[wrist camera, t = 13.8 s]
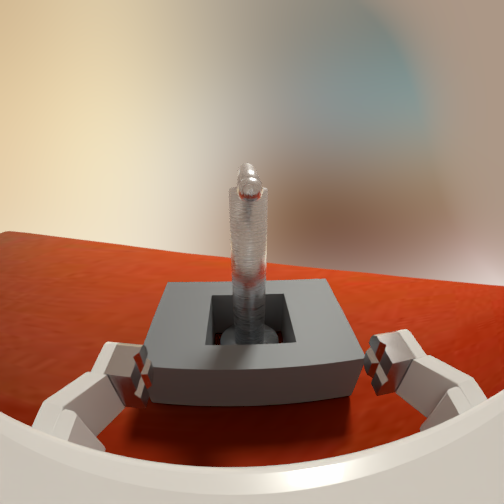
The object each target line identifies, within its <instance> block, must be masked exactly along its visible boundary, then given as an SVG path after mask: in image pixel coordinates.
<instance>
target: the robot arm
mask: <svg viewBox="0 0 504 504" xmlns="http://www.w3.org/2000/svg"><path fill="white" fill-rule="evenodd" d="M369 344H370V346H371V347H370V348H369V349H368V350H367V351H366V353H365V357H364V367H365V371H366V373H367V375H369V376H370V377H372V378H373V379H372V382H371V384H372V386H373V388H374V391H375V393H376V395H377V396H379V395H384V394H388V393H392V392H396V393H397V394H398V395H399V396H400V397H402V398H403V399H404V400H405V401H407V402H408V403H409V404H410V405H412V406H413V407H414V408H415V409H417V410H418V411H419V412H421V413H422V414H423V415H424V416H426V417H427V419H426V420H425V421H424V423H423V424H422V425H421V427H420V431H421V432H419V433H416V434H414V435H411V436H408V437H405V438H403V439H400V440H397V441H394V442H390V443H387V444H384V445H381V446H377V447H374V448H370V449H367V450H363V451H359V452H355V453H350V454H346V455H341V456H337V457H332V458H326V459H321V460H315V461H308V462H301V463H293V464H284V465H273V466H258V467H203V466H188V465H177V464H168V463H160V462H153V461H146V460H140V459H135V458H130V457H125V456H120V455H116V454H111V453H107V452H105V447H104V445H103V444H102V443H101V442H100V441H99V440H98V439H97V438H96V436H97V435H98V434H99V433H100V432H101V431H102V430H103V429H104V428H105V427H106V426H107V425H108V424H109V423H110V422H111V421H112V420H113V419H114V418H115V417H116V416H117V415H118V414H119V413H120V412H121V411H122V410H123V409H124V408H125V407H134V408H143V409H146V407H147V403H148V399H149V392H148V390H147V389H148V388H149V387H151V386H152V383H153V376H154V371H153V365H152V362H151V361H150V360H149V359H148V358H147V355H148V351H147V348H146V346H144V345H137V344H127V343H115V342H106V343H105V344H104V346H103V348H102V350H101V352H100V354H99V356H98V358H97V360H96V362H95V364H94V366H93V368H92V370H91V372H86V373H85V374H83V375H82V376H80V377H79V378H77V379H76V380H74V381H73V382H72V383H70V384H69V385H67V386H66V387H64V388H63V389H61V390H60V391H58V392H57V393H55V394H54V395H52V396H51V397H49V398H48V399H46V400H45V401H44V402H43V404H42V406H41V408H40V410H39V412H38V414H37V416H36V419H35V421H34V423H33V425H32V427H30V426H28V425H26V424H24V423H22V422H20V421H17V420H15V419H13V418H11V417H9V416H7V415H5V414H4V413H2V412H0V504H504V390H502V391H500V392H499V393H497V394H496V395H494V396H492V397H491V398H489V399H487V398H486V396H485V395H484V393H483V392H482V390H481V389H480V387H479V386H478V384H477V383H476V381H475V380H474V378H472V377H470V376H468V375H467V374H465V373H463V372H461V371H459V370H457V369H455V368H453V367H451V366H449V365H448V364H446V363H444V362H442V361H440V360H438V359H436V358H434V357H432V356H431V355H428V356H427V355H426V354H425V352H424V351H423V350H422V348H421V347H420V345H419V344H418V342H417V341H416V339H415V338H414V337H413V335H412V334H411V332H410V331H409V330H407V329H404V330H399V331H395V332H388V333H383V334H377V335H373V336H372V337H371V338H370V341H369ZM124 406H125V407H124Z"/></svg>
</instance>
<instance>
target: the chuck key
mask: <svg viewBox="0 0 504 504" xmlns="http://www.w3.org/2000/svg"><path fill="white" fill-rule="evenodd" d="M267 194H268V190H267V189H266V188H264V187H263V186H262V183H261V181H260V179H259V176H258V174H257V172H256V170H255V168H254V166H253V165H251V164H248V163H246V164H243V165H241V166H240V167H239V169H238V186H237V187H234V188H231V189H230V190H229V206H230V240H231V267H232V291H233V313H234V325H232V326H231V327H229V328H227V329H226V330H225V331H224V332H223V334H222V336H221V340H220V343H221V345H255V344H278V342H279V340H278V336H277V334H276V332H275V331H274V330H273V329H272V328H270V327H269V326H267V325H265V293H266V253H267V199H268V195H267Z"/></svg>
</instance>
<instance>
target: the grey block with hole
mask: <svg viewBox="0 0 504 504" xmlns="http://www.w3.org/2000/svg"><path fill="white" fill-rule="evenodd" d="M232 325H234V313H233V291H232V282H168V283H167V286H166V288H165V290H164V293H163V295H162V298H161V300H160V303H159V305H158V308H157V310H156V313H155V315H154V318H153V321H152V323H151V326H150V329H149V331H148V334H147V337H146V339H145V342H144V346H146V348H147V351H148V355H147V358H148V359H149V360H150V361H151V362H152V365H153V371H154V376H153V383H152V386H151V387H149V388H148V389H147V390H148V392H149V397H150V399H151V401H152V402H154V403H164V404H177V405H193V406H260V405H277V404H289V403H300V402H309V401H317V400H324V399H331V398H338V397H344V396H350V395H351V394H352V392H353V389H354V387H355V385H356V382H357V380H358V377H359V375H360V372H361V370H362V367H363V365H364V357H365V355H364V353H363V351H362V349H361V347H360V345H359V343H358V341H357V339H356V336H355V334H354V332H353V330H352V329H351V327H350V325H349V323H348V321H347V319H346V317H345V315H344V313H343V311H342V309H341V307H340V305H339V303H338V301H337V299H336V297H335V296H334V294H333V292H332V290H331V288H330V286H329V284H328V282H327V281H326V279H305V280H277V281H266V293H265V325H267V326H269V327H270V328H272V329H273V330H274V331H281V333H282V338H283V343H278V344H255V345H214V342H215V333H223V332H224V331H225V330H226V329H227V328H229V327H231V326H232Z"/></svg>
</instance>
